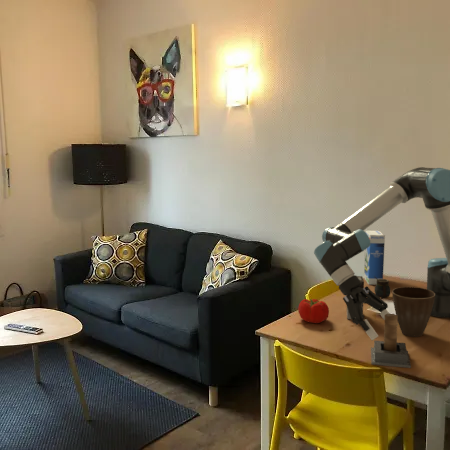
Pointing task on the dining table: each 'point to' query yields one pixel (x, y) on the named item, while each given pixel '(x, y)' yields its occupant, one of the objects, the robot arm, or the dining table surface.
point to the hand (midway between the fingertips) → (385, 332)
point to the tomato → (313, 310)
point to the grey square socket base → (390, 355)
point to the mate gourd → (382, 288)
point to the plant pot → (413, 309)
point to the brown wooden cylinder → (390, 332)
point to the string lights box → (374, 257)
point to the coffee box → (361, 304)
